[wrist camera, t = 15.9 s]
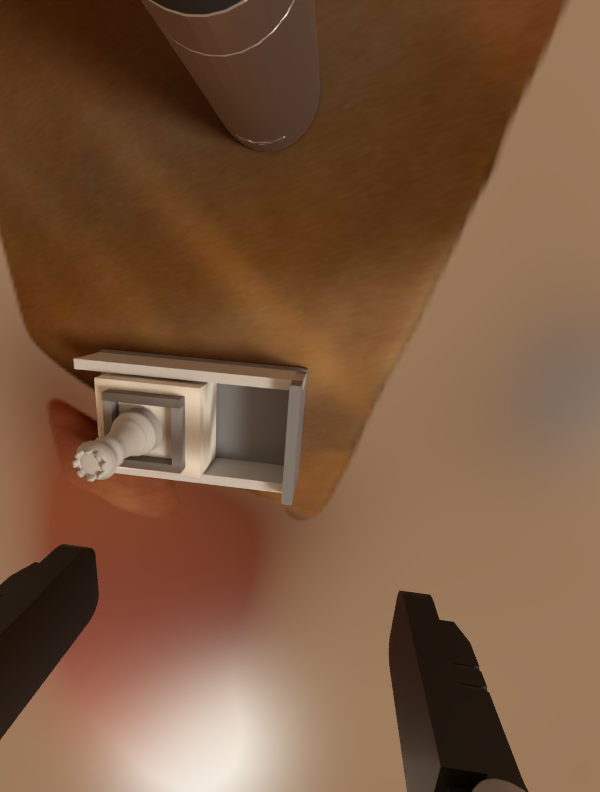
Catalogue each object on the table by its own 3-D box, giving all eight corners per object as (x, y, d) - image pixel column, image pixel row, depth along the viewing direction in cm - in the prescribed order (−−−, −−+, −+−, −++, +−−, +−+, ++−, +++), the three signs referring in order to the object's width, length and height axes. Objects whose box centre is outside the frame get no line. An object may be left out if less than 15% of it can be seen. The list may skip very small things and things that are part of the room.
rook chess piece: (117, 443, 36) (57, 484, 28) (122, 400, 35) (61, 430, 27) (161, 455, 36) (113, 499, 28) (168, 413, 35) (120, 447, 27)
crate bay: (104, 348, 40) (58, 360, 33) (307, 368, 39) (301, 384, 32) (111, 451, 43) (70, 480, 37) (298, 472, 42) (291, 507, 35)
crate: (123, 367, 39) (85, 380, 33) (216, 376, 38) (194, 391, 32) (128, 446, 42) (93, 471, 36) (215, 456, 41) (194, 484, 35)
